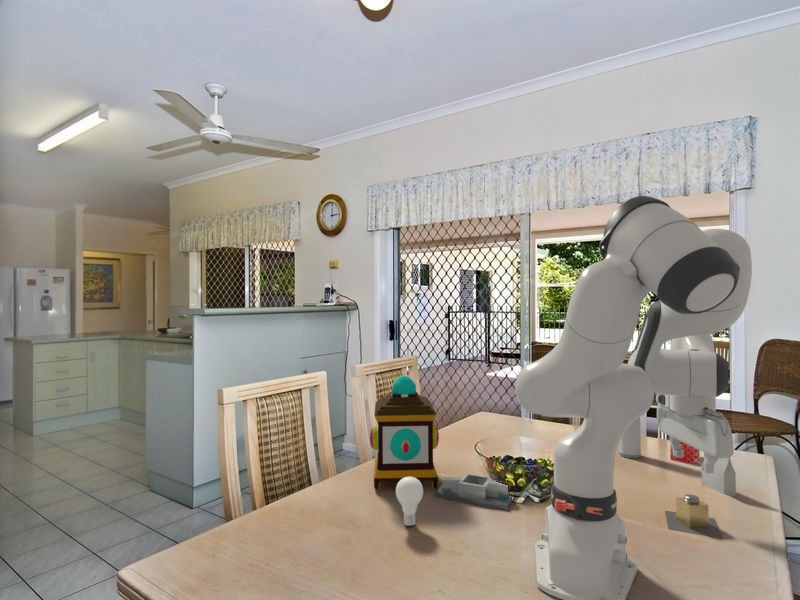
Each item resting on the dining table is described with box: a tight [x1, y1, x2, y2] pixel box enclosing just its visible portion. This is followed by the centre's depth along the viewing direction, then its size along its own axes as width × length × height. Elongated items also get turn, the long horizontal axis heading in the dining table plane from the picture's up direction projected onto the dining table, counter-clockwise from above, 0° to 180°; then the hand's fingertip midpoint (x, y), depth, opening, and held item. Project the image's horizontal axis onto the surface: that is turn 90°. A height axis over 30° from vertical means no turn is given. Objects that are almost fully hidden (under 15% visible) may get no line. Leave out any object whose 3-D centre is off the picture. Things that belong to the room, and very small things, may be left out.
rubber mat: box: [664, 510, 724, 540], centre depth 104 cm, size 10×10×1 cm
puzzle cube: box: [669, 441, 701, 465], centre depth 150 cm, size 8×8×8 cm
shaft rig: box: [434, 472, 514, 511], centre depth 122 cm, size 10×19×4 cm, turn 64°
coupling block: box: [675, 494, 709, 529], centre depth 104 cm, size 4×4×6 cm
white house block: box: [701, 457, 737, 497], centre depth 124 cm, size 4×7×10 cm, turn 12°
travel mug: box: [619, 417, 642, 460], centre depth 153 cm, size 6×7×20 cm
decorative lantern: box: [369, 374, 440, 491], centre depth 134 cm, size 20×20×30 cm
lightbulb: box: [395, 476, 424, 527], centre depth 106 cm, size 6×6×11 cm
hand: (692, 464), depth 104 cm, fingers open, 8 cm apart
